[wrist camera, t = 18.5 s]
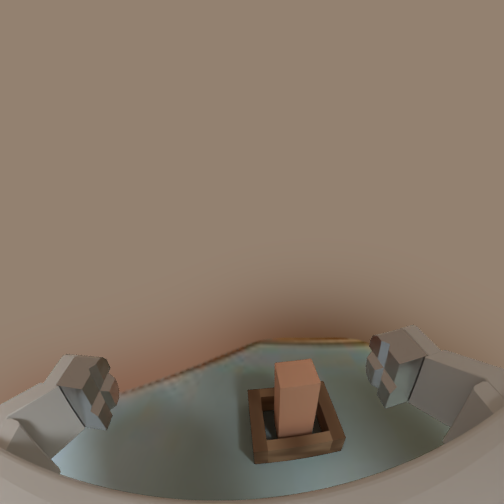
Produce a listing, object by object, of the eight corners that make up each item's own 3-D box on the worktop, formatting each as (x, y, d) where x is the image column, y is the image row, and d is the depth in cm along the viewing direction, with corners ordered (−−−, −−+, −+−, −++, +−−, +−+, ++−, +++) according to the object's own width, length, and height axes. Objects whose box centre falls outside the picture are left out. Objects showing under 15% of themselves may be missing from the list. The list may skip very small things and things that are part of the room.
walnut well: (320, 395, 34) (323, 381, 33) (340, 450, 25) (345, 437, 24) (248, 404, 34) (247, 389, 33) (254, 463, 24) (253, 451, 23)
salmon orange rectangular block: (304, 414, 31) (311, 358, 28) (310, 437, 27) (320, 382, 24) (273, 418, 31) (274, 362, 28) (278, 442, 27) (280, 388, 24)
